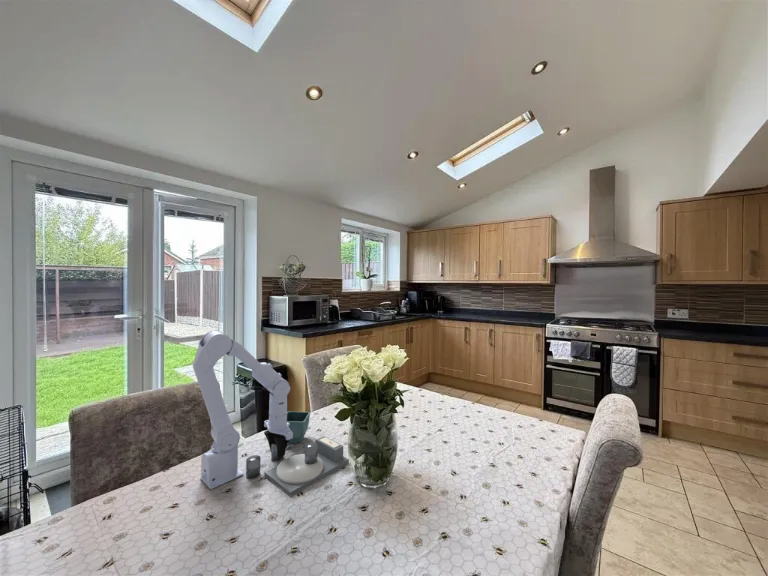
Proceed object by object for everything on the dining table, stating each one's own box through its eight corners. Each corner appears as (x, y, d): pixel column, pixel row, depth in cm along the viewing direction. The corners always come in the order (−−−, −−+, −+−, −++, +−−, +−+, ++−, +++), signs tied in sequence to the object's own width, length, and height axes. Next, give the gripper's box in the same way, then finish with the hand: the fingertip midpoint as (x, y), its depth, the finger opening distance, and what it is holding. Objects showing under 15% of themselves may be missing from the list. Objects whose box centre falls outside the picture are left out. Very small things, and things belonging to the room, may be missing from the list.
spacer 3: (309, 466, 97) (309, 450, 97) (301, 461, 100) (302, 445, 100) (319, 460, 100) (320, 445, 100) (312, 456, 103) (312, 441, 103)
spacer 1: (250, 480, 93) (250, 464, 93) (243, 475, 96) (243, 459, 96) (262, 474, 96) (262, 458, 96) (256, 469, 99) (256, 453, 99)
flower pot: (303, 446, 113) (304, 421, 113) (279, 445, 114) (280, 421, 113) (310, 434, 122) (310, 411, 122) (287, 434, 122) (287, 411, 122)
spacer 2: (275, 462, 103) (275, 447, 103) (268, 458, 105) (269, 443, 105) (286, 457, 106) (286, 442, 106) (279, 453, 108) (279, 438, 108)
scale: (290, 496, 87) (290, 476, 87) (264, 475, 96) (264, 457, 96) (348, 463, 103) (349, 446, 103) (322, 448, 112) (322, 432, 112)
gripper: (300, 415, 104) (300, 456, 104) (277, 404, 113) (276, 441, 113) (281, 422, 98) (281, 465, 99) (258, 410, 108) (258, 449, 108)
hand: (277, 453), depth 106 cm, fingers closed on spacer 2, 4 cm apart
